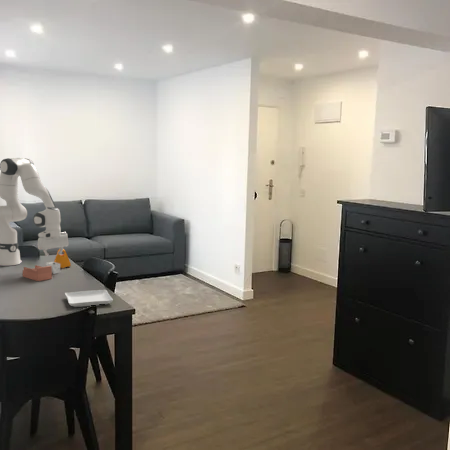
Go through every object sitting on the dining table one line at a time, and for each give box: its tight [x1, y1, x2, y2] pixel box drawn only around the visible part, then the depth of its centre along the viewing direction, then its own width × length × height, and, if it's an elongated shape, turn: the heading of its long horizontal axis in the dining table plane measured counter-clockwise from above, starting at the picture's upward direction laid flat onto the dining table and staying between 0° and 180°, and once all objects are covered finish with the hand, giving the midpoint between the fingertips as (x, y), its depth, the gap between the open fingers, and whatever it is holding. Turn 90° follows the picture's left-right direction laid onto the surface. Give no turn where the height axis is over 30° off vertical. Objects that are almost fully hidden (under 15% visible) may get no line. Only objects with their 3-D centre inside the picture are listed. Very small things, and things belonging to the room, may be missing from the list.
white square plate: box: [64, 289, 114, 308], centre depth 252 cm, size 21×21×3 cm
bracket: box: [53, 248, 71, 269], centre depth 330 cm, size 11×7×12 cm, turn 113°
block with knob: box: [45, 261, 61, 275], centre depth 313 cm, size 8×5×6 cm, turn 53°
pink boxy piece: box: [22, 264, 53, 282], centre depth 297 cm, size 16×9×8 cm, turn 53°
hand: (53, 255), depth 312 cm, fingers open, 8 cm apart
